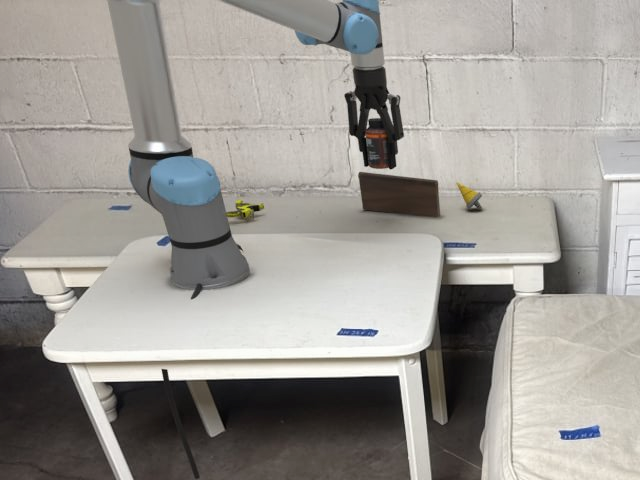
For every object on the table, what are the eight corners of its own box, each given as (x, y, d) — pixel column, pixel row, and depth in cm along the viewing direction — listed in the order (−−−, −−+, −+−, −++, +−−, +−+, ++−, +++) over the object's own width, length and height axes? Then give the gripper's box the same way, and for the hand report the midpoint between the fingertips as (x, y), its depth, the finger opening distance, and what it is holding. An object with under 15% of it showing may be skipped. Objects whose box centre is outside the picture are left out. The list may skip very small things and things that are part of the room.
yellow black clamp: (237, 196, 194) (264, 197, 194) (240, 211, 196) (266, 211, 196) (220, 208, 184) (248, 209, 184) (223, 223, 186) (251, 224, 186)
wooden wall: (437, 218, 193) (435, 181, 187) (362, 209, 197) (357, 173, 192) (440, 216, 194) (438, 179, 188) (366, 207, 199) (361, 170, 193)
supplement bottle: (395, 165, 184) (392, 117, 179) (389, 170, 179) (385, 121, 174) (372, 164, 185) (368, 116, 179) (365, 168, 180) (361, 120, 174)
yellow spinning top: (476, 214, 195) (449, 187, 193) (475, 218, 200) (449, 191, 199) (490, 201, 195) (463, 173, 194) (488, 204, 201) (463, 177, 199)
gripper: (413, 66, 169) (421, 165, 183) (339, 60, 173) (353, 158, 187) (399, 72, 163) (409, 174, 177) (323, 67, 168) (338, 167, 181)
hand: (380, 166), depth 182 cm, fingers closed on supplement bottle, 6 cm apart
